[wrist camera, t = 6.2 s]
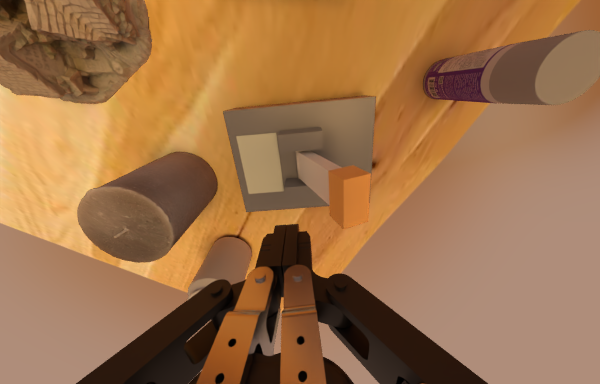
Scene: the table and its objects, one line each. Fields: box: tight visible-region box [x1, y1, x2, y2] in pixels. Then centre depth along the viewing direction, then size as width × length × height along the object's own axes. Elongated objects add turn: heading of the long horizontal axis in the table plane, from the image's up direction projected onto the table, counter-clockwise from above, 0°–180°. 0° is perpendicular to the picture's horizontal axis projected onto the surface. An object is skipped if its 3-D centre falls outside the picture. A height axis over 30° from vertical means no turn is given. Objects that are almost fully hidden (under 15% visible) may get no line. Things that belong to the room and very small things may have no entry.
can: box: [188, 237, 252, 300], centre depth 35 cm, size 8×8×12 cm
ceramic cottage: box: [0, 0, 152, 104], centre depth 20 cm, size 16×16×15 cm
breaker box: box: [223, 96, 376, 212], centre depth 29 cm, size 14×18×8 cm
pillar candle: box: [77, 152, 217, 262], centre depth 28 cm, size 10×10×15 cm
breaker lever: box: [296, 150, 371, 229], centre depth 22 cm, size 4×2×12 cm, turn 5°
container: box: [423, 30, 600, 105], centre depth 21 cm, size 5×5×15 cm
